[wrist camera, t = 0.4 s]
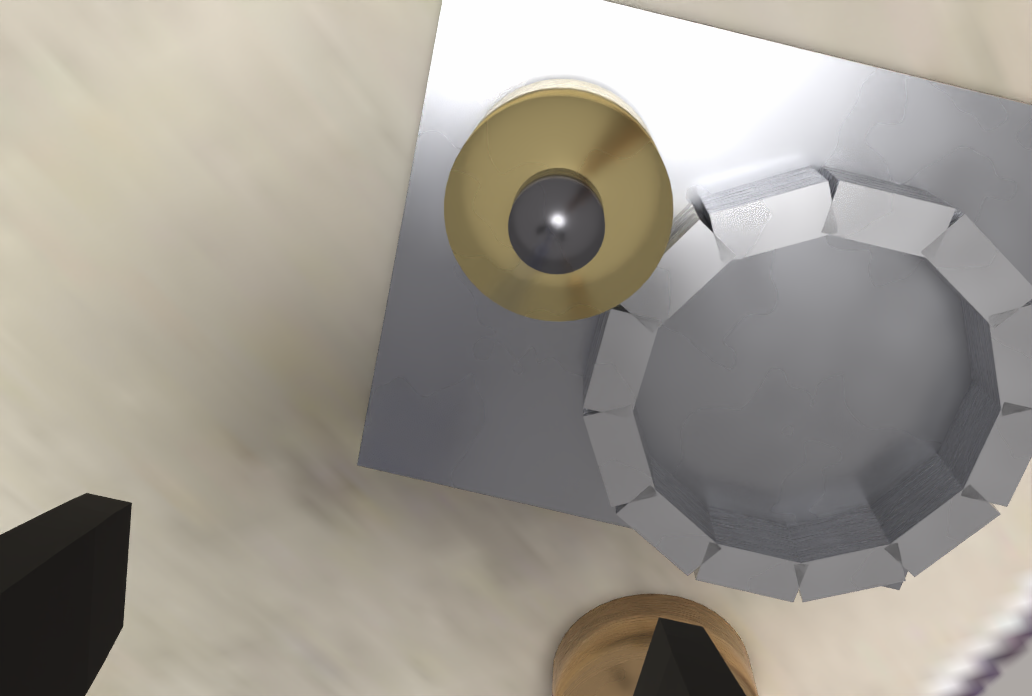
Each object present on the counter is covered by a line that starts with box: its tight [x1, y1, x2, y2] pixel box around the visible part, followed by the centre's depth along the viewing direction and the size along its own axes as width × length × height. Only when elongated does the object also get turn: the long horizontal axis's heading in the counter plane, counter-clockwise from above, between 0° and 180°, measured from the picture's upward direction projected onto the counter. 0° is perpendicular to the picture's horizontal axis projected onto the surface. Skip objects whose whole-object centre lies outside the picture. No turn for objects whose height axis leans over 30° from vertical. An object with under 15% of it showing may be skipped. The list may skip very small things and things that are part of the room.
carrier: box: [357, 0, 1032, 602], centre depth 19 cm, size 11×14×5 cm
